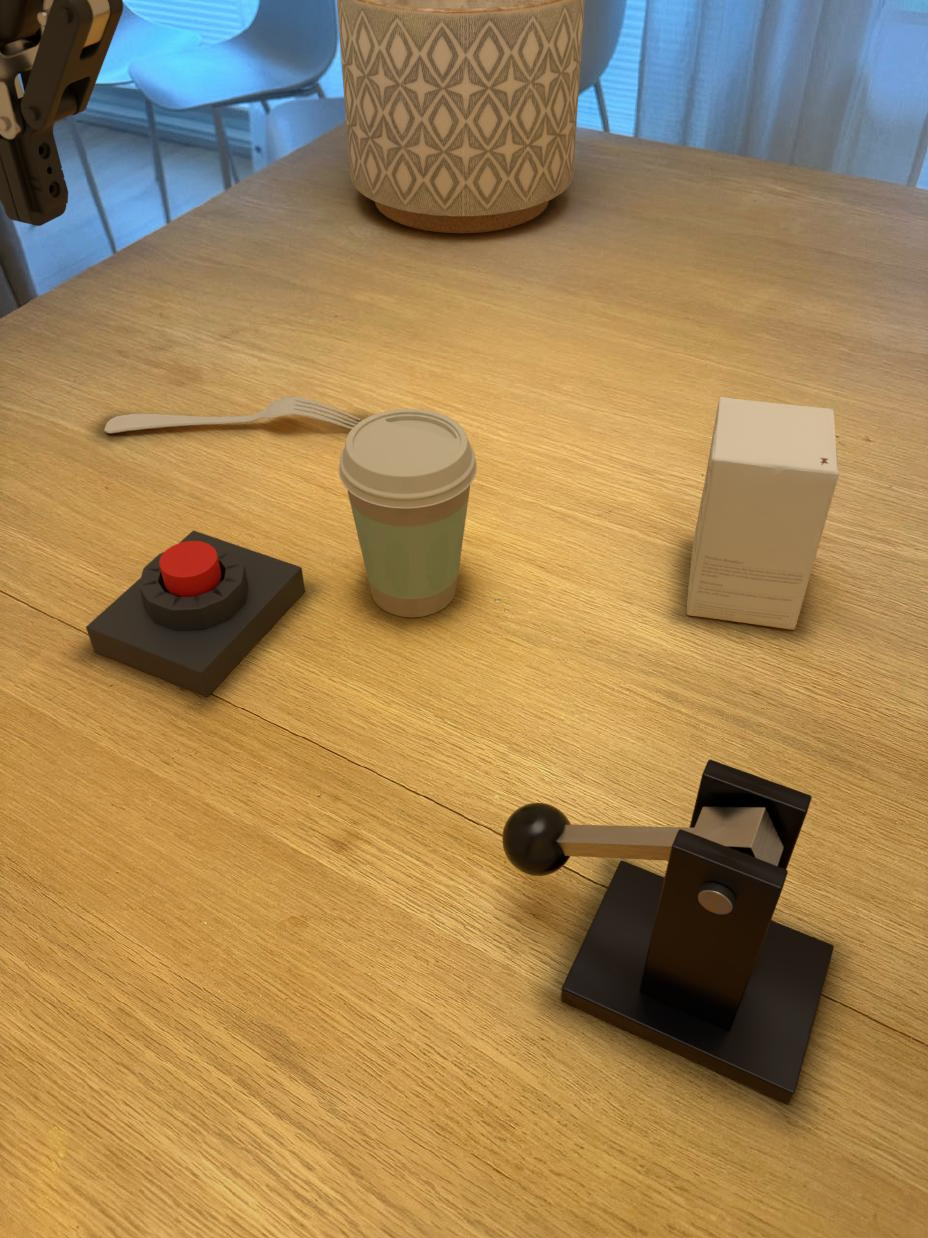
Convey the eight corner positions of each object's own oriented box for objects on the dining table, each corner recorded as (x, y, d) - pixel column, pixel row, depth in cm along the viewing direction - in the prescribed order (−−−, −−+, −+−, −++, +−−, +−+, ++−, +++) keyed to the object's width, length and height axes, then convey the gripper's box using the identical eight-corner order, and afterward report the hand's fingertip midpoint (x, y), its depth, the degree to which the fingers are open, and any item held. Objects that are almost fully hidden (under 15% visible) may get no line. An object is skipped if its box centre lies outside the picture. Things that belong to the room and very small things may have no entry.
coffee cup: (500, 602, 71) (504, 452, 63) (389, 649, 68) (378, 498, 60) (434, 535, 76) (431, 389, 68) (329, 576, 73) (311, 428, 65)
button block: (207, 697, 65) (196, 651, 62) (93, 651, 68) (78, 605, 65) (305, 591, 72) (299, 545, 69) (198, 554, 75) (188, 509, 72)
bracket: (559, 1000, 50) (579, 843, 42) (618, 872, 55) (646, 708, 47) (789, 1106, 47) (862, 957, 38) (829, 957, 52) (902, 797, 43)
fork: (119, 442, 89) (108, 414, 88) (360, 416, 88) (354, 387, 86) (111, 461, 87) (100, 433, 86) (358, 435, 86) (352, 405, 84)
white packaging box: (796, 562, 74) (839, 406, 65) (795, 634, 69) (842, 474, 60) (690, 547, 75) (718, 392, 67) (681, 616, 70) (711, 457, 61)
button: (198, 604, 66) (193, 583, 64) (152, 587, 67) (146, 566, 66) (232, 571, 68) (228, 550, 67) (187, 555, 69) (183, 534, 68)
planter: (531, 258, 110) (541, 20, 95) (314, 224, 117) (290, -4, 102) (597, 174, 128) (614, -39, 113) (404, 148, 134) (396, -56, 119)
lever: (509, 889, 50) (478, 839, 49) (538, 836, 53) (509, 787, 51) (770, 908, 42) (742, 849, 41) (791, 845, 44) (765, 787, 43)
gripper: (-344, -305, 34) (-137, 221, 46) (-47, -298, 30) (98, 281, 42) (-153, -312, 39) (-10, 165, 51) (126, -307, 35) (212, 213, 47)
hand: (39, 216), depth 46 cm, fingers closed
